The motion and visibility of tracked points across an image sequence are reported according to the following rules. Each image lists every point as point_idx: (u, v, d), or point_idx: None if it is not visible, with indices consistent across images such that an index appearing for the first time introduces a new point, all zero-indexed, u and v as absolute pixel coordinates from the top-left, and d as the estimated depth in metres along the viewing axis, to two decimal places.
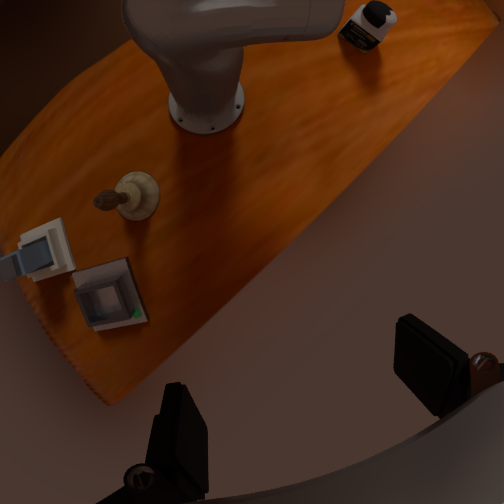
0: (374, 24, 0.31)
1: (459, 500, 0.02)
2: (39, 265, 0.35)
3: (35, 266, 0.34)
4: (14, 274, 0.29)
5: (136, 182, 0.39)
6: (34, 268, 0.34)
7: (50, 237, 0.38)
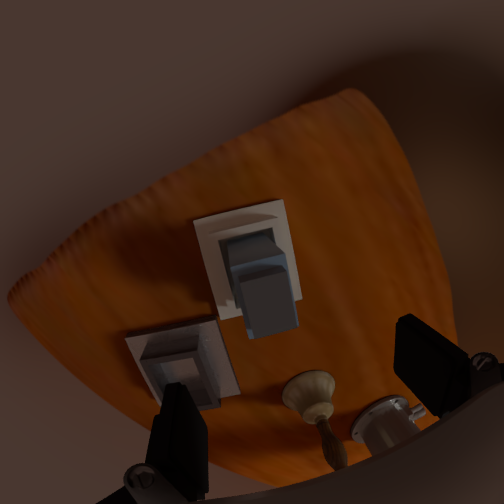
0: None
1: (459, 500, 0.02)
2: None
3: None
4: (256, 331, 0.19)
5: None
6: None
7: None
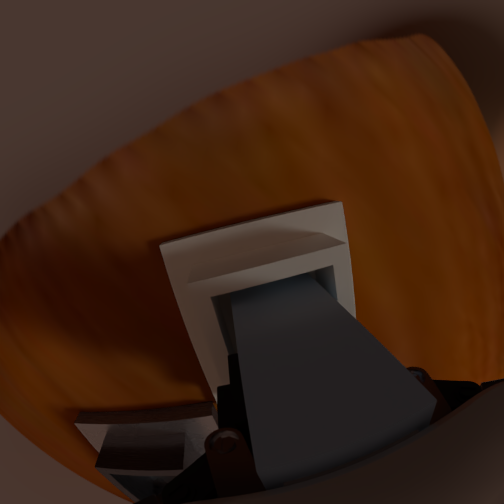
0: None
1: (459, 500, 0.02)
2: None
3: None
4: None
5: None
6: None
7: None
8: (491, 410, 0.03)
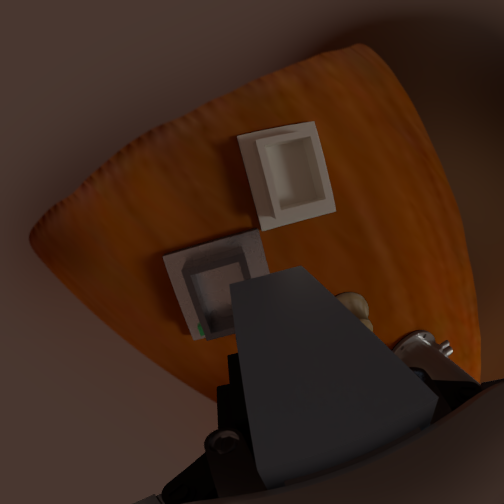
0: None
1: (459, 500, 0.02)
2: None
3: None
4: None
5: None
6: None
7: (321, 206, 0.31)
8: (491, 410, 0.03)
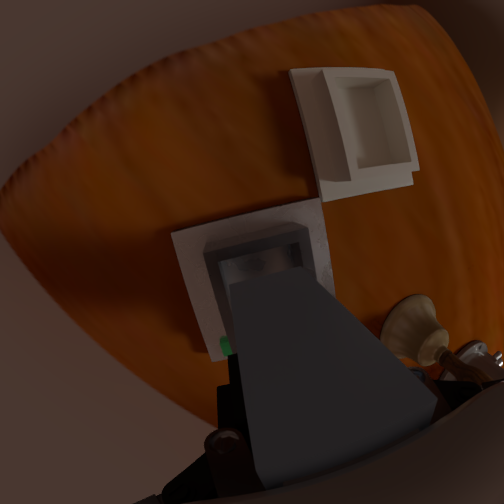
0: None
1: (459, 500, 0.02)
2: None
3: None
4: None
5: None
6: None
7: (405, 171, 0.19)
8: (491, 410, 0.03)
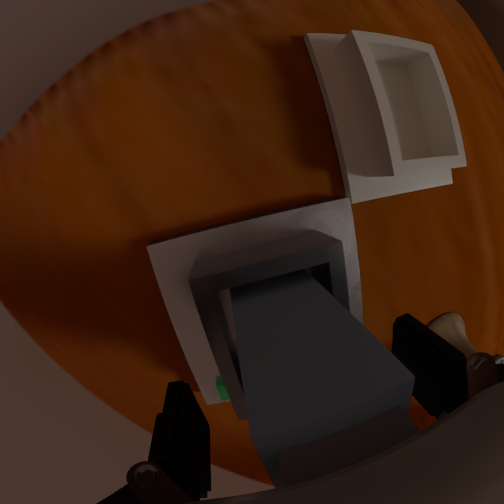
0: None
1: (459, 500, 0.02)
2: None
3: None
4: None
5: None
6: None
7: (452, 167, 0.14)
8: (491, 410, 0.03)
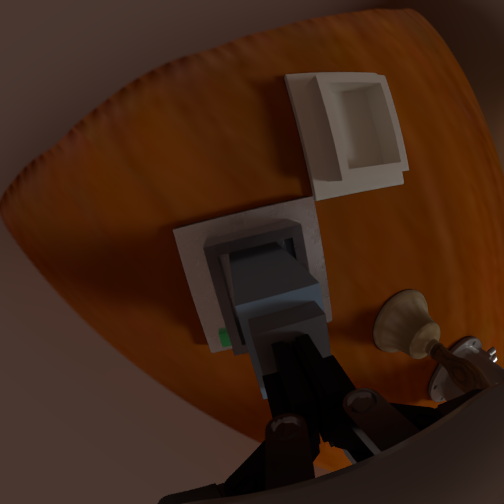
0: None
1: (459, 500, 0.02)
2: None
3: None
4: None
5: None
6: None
7: (395, 171, 0.21)
8: (491, 410, 0.03)
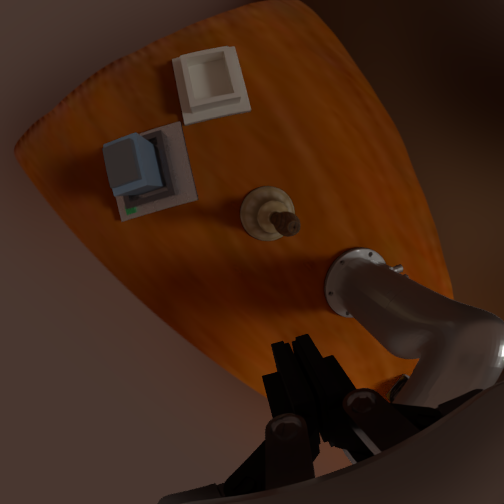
0: None
1: (459, 500, 0.02)
2: (128, 194, 0.30)
3: (127, 194, 0.29)
4: (111, 182, 0.24)
5: None
6: (124, 195, 0.29)
7: (230, 99, 0.33)
8: (491, 410, 0.03)
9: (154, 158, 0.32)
